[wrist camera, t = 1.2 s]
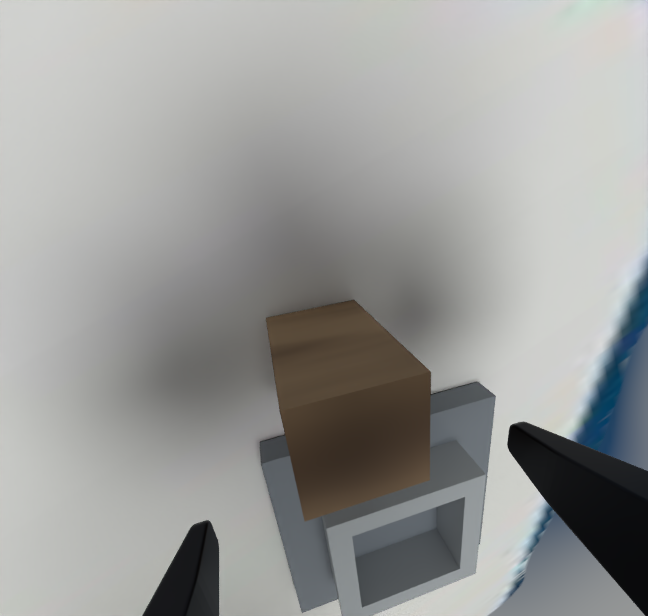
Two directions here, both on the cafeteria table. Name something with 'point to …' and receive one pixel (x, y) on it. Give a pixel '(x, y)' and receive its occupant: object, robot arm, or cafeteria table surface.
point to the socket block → (393, 518)
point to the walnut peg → (349, 407)
